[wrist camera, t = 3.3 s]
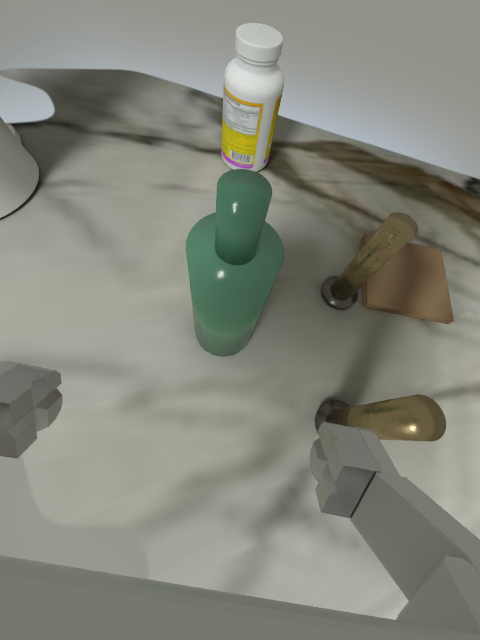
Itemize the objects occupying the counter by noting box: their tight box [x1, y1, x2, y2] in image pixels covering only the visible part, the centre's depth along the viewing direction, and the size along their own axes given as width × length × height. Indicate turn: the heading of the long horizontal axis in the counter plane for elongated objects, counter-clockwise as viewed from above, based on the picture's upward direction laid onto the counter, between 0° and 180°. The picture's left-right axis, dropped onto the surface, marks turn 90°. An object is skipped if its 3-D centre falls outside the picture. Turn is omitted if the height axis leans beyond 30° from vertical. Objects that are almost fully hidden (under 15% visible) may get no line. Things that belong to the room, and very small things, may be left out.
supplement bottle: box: [221, 23, 284, 172], centre depth 32 cm, size 7×7×13 cm
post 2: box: [315, 395, 446, 441], centre depth 19 cm, size 4×4×11 cm
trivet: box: [362, 234, 454, 324], centre depth 32 cm, size 10×10×1 cm
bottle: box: [186, 169, 284, 356], centre depth 19 cm, size 6×6×17 cm
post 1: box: [321, 212, 418, 310], centre depth 25 cm, size 4×4×11 cm
